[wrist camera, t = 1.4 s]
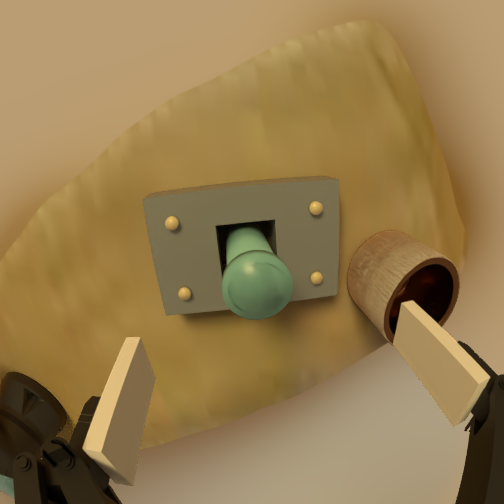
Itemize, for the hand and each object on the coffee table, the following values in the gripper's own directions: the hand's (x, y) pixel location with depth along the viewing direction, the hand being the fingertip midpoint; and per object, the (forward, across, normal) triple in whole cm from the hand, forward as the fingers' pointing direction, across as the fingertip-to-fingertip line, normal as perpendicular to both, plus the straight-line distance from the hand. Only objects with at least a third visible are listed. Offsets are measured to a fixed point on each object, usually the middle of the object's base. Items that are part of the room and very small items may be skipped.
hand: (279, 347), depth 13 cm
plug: (+18, 0, 0) cm, 18 cm away
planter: (+19, +16, -6) cm, 26 cm away
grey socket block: (+18, 0, 0) cm, 18 cm away
